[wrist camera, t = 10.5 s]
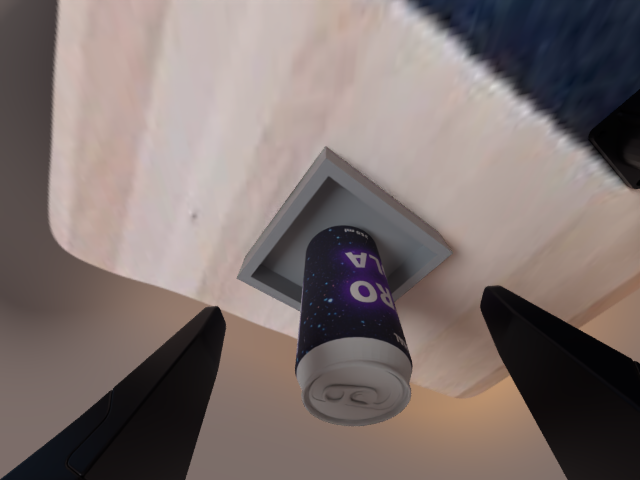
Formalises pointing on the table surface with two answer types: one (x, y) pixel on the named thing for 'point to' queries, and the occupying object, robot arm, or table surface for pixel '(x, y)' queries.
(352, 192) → the tray
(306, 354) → the beverage can
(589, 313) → the table surface
